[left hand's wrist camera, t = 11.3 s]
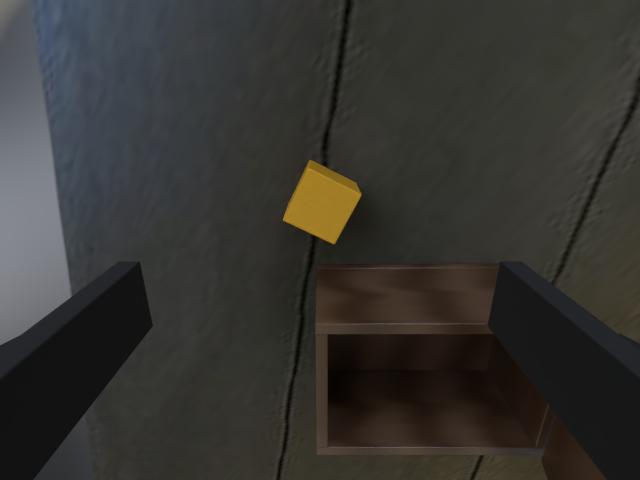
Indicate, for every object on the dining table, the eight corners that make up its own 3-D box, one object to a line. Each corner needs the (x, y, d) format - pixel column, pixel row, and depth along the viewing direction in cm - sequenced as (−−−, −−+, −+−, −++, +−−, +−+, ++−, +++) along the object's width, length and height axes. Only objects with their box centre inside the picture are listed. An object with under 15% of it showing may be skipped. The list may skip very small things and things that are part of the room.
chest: (318, 370, 34) (316, 455, 26) (317, 264, 30) (315, 324, 22) (489, 370, 34) (543, 455, 26) (512, 263, 30) (585, 323, 22)
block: (287, 205, 28) (282, 220, 24) (309, 159, 27) (307, 167, 23) (332, 226, 29) (334, 245, 25) (356, 182, 27) (362, 194, 24)
